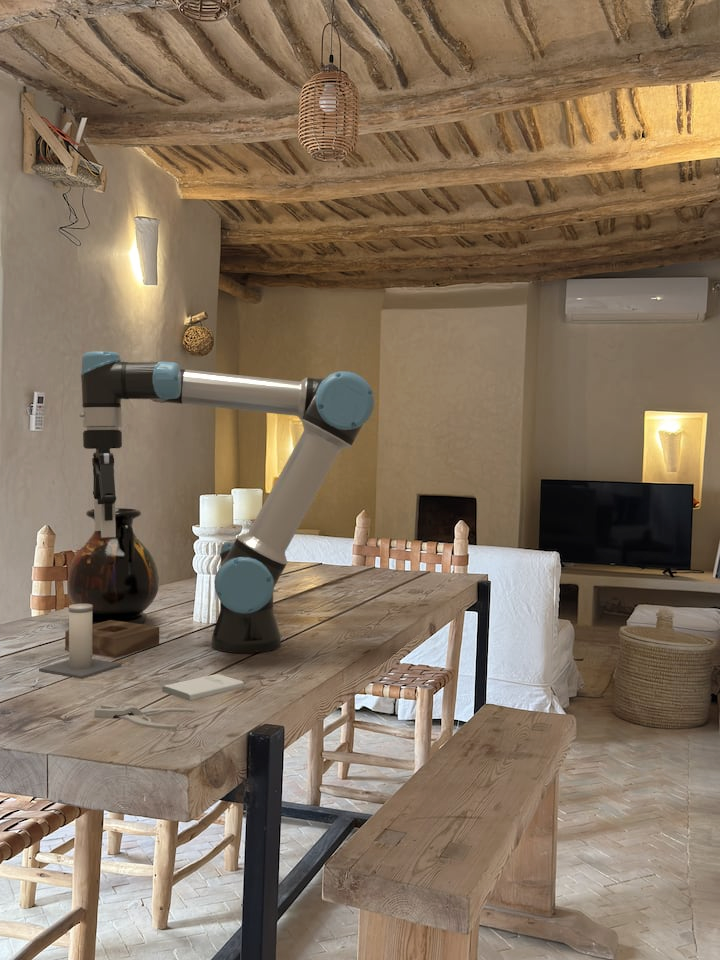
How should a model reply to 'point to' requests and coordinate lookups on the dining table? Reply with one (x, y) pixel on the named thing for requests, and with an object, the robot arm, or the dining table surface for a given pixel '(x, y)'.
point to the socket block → (120, 638)
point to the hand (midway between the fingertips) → (105, 533)
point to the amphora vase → (114, 573)
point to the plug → (80, 636)
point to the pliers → (123, 713)
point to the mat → (64, 669)
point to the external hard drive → (202, 687)
